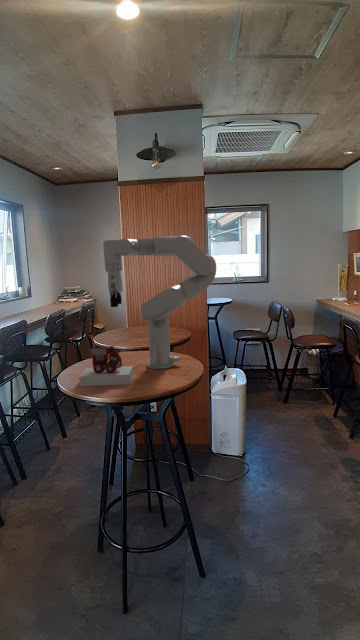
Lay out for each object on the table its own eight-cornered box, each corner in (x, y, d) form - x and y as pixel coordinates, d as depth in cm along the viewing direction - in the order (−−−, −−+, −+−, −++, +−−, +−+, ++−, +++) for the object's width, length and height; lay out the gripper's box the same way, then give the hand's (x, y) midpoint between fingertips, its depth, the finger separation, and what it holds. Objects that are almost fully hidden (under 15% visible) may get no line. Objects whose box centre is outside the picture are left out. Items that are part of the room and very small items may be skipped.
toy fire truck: (119, 373, 149) (117, 348, 147) (89, 374, 150) (87, 349, 148) (123, 368, 156) (122, 344, 154) (95, 368, 157) (93, 344, 155)
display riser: (133, 375, 159) (132, 366, 158) (129, 384, 148) (129, 374, 147) (86, 377, 159) (86, 368, 158) (80, 386, 148) (79, 376, 148)
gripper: (118, 268, 159) (121, 307, 162) (124, 266, 176) (127, 302, 179) (101, 269, 159) (104, 308, 162) (108, 267, 176) (111, 303, 179)
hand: (116, 305), depth 170 cm, fingers open, 9 cm apart
